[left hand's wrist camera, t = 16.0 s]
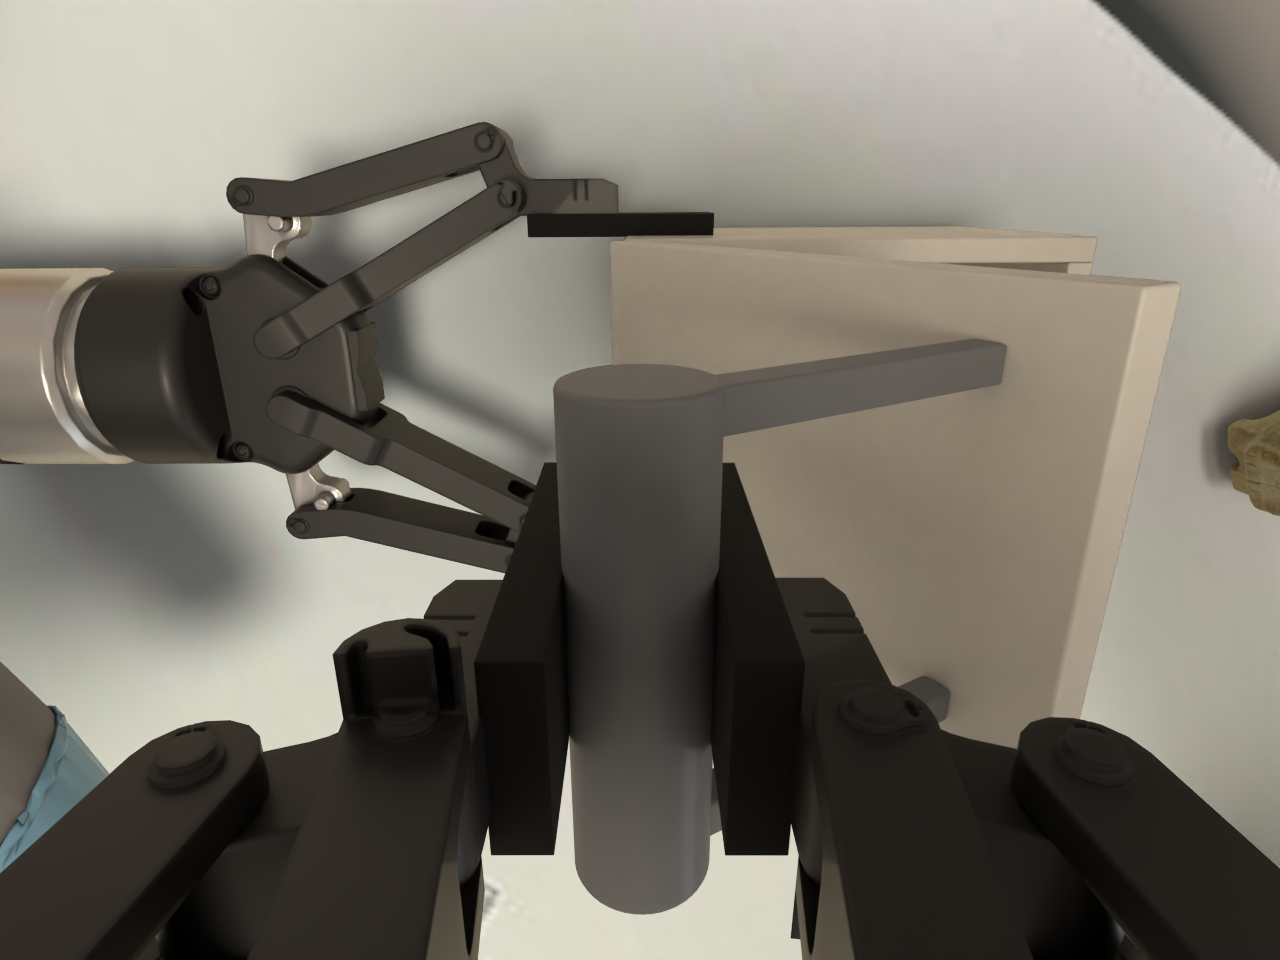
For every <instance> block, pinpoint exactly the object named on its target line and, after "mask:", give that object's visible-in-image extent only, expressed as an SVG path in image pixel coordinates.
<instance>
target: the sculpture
mask: <svg viewBox="0 0 1280 960" xmlns="http://www.w3.org/2000/svg"><path fill="white" fill-rule="evenodd" d="M1227 445H1228V449H1229V451H1230V452H1231V453H1233V454H1234V455H1235V456H1236V457H1237V458H1238V460H1239V461H1237V462H1235V463H1234V464H1233V465H1232V467H1231V468H1230V476H1231V480H1232V483H1233V486H1234V488H1235V489H1236V490H1238V491H1241V492H1243V493H1246V494H1248V495H1249V497H1250V500H1251V502H1252V504H1253V505H1254V506H1255V507H1256V508H1257V509H1259V510H1263V511H1267V512H1269V513H1271V514H1273V515H1278V516H1280V410H1278V411H1276V412H1275V413H1273V414H1271V415H1269V416H1266V417H1263V418H1259V419H1255V420H1251V419H1240V420H1238V421H1235V422H1234V423H1232V424H1231V425H1230V426H1229V427H1228V429H1227Z"/></svg>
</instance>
